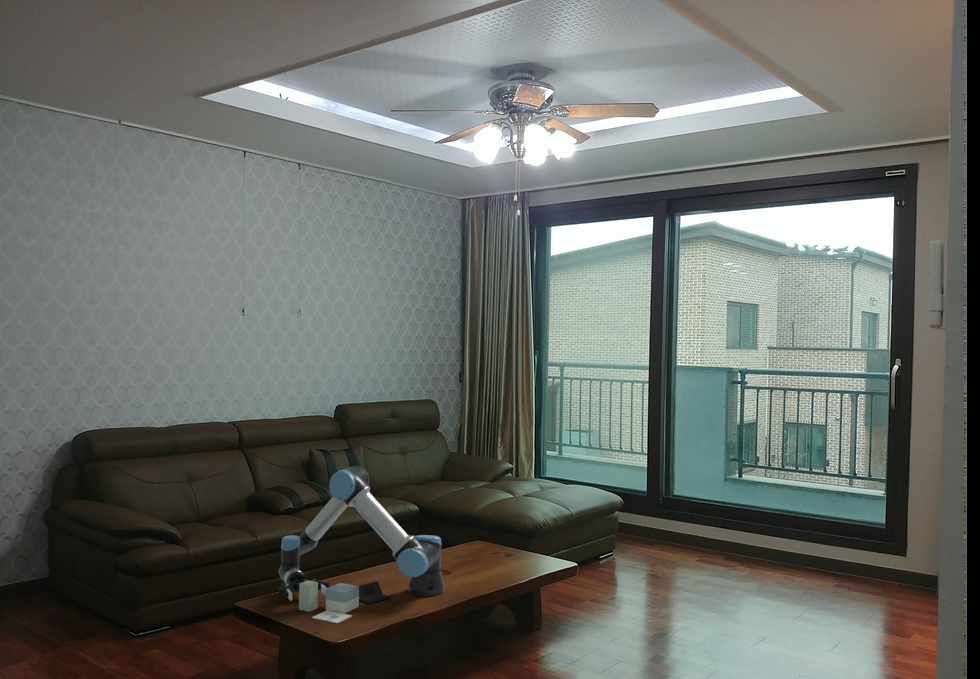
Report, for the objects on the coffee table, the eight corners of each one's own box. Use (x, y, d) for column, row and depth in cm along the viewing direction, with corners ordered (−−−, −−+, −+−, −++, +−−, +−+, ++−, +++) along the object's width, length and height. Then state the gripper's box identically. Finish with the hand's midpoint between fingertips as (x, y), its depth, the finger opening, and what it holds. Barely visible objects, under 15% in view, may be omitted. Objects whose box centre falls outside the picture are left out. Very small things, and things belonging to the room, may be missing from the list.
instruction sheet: (352, 616, 294) (352, 615, 294) (337, 623, 286) (337, 622, 286) (327, 611, 300) (327, 609, 300) (311, 617, 292) (311, 616, 292)
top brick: (317, 608, 303) (317, 582, 303) (309, 611, 298) (309, 585, 299) (307, 606, 305) (307, 580, 305) (298, 609, 301) (299, 583, 301)
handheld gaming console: (373, 602, 307) (364, 578, 311) (361, 610, 309) (353, 587, 314) (393, 599, 316) (384, 576, 320) (381, 607, 318) (373, 584, 323)
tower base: (358, 606, 305) (358, 586, 305) (344, 613, 297) (344, 592, 297) (340, 603, 309) (340, 582, 309) (325, 609, 301) (326, 588, 301)
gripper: (325, 585, 325) (340, 600, 306) (264, 593, 313) (276, 609, 295) (325, 567, 325) (340, 581, 306) (264, 574, 313) (276, 589, 295)
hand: (309, 594), depth 300 cm, fingers open, 13 cm apart
